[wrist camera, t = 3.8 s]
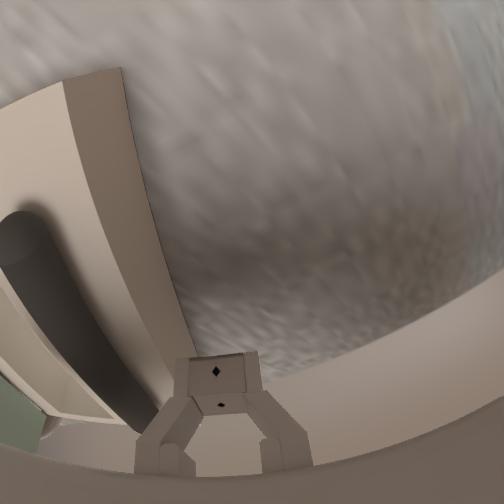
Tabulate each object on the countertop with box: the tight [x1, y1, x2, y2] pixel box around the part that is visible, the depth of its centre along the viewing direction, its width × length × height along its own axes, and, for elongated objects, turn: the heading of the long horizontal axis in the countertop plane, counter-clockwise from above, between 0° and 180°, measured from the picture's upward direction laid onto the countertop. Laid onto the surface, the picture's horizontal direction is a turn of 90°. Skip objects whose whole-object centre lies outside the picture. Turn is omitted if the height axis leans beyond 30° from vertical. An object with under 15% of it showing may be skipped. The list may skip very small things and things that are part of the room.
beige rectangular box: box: [0, 67, 202, 426], centre depth 13 cm, size 13×20×5 cm, turn 4°
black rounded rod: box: [0, 211, 159, 434], centre depth 11 cm, size 2×14×2 cm, turn 4°
